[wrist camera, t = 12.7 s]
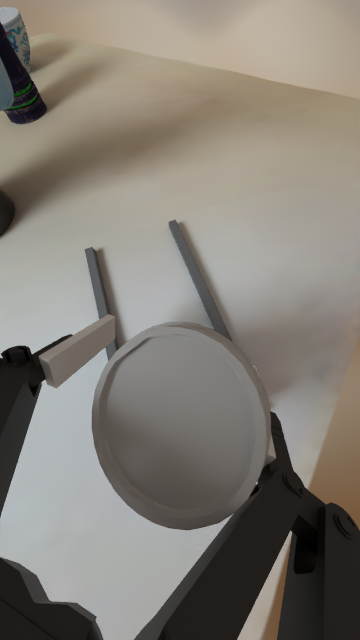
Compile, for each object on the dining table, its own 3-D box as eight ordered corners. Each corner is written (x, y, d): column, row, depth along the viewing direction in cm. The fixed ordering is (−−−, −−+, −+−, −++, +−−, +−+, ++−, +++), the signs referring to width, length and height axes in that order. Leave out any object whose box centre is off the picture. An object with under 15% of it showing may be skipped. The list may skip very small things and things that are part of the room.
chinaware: (54, 62, 49) (30, 8, 41) (22, 87, 45) (-10, 32, 38) (18, 57, 51) (-11, 5, 44) (-15, 81, 48) (-52, 28, 40)
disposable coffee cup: (235, 332, 19) (254, 304, 8) (250, 422, 17) (308, 570, 5) (160, 341, 21) (87, 329, 10) (165, 421, 19) (79, 526, 8)
